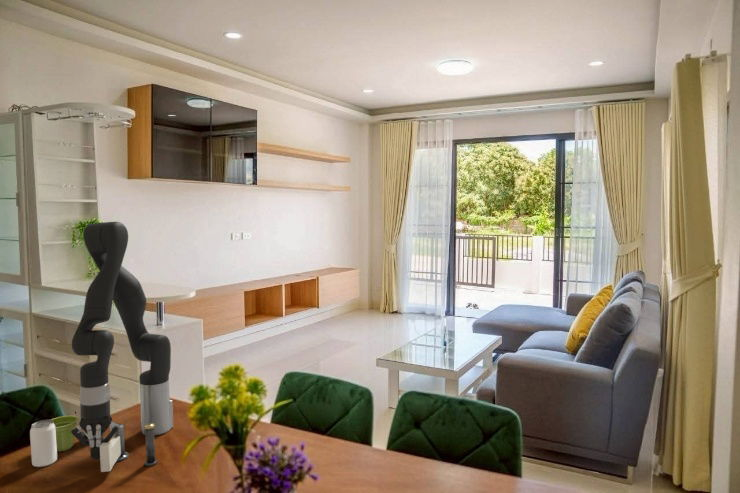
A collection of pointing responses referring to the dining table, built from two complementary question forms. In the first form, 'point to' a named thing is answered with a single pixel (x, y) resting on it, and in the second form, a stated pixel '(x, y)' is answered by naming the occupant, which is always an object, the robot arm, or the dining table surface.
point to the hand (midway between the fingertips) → (97, 458)
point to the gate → (109, 453)
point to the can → (43, 443)
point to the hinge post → (121, 443)
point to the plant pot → (64, 431)
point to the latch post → (150, 445)
